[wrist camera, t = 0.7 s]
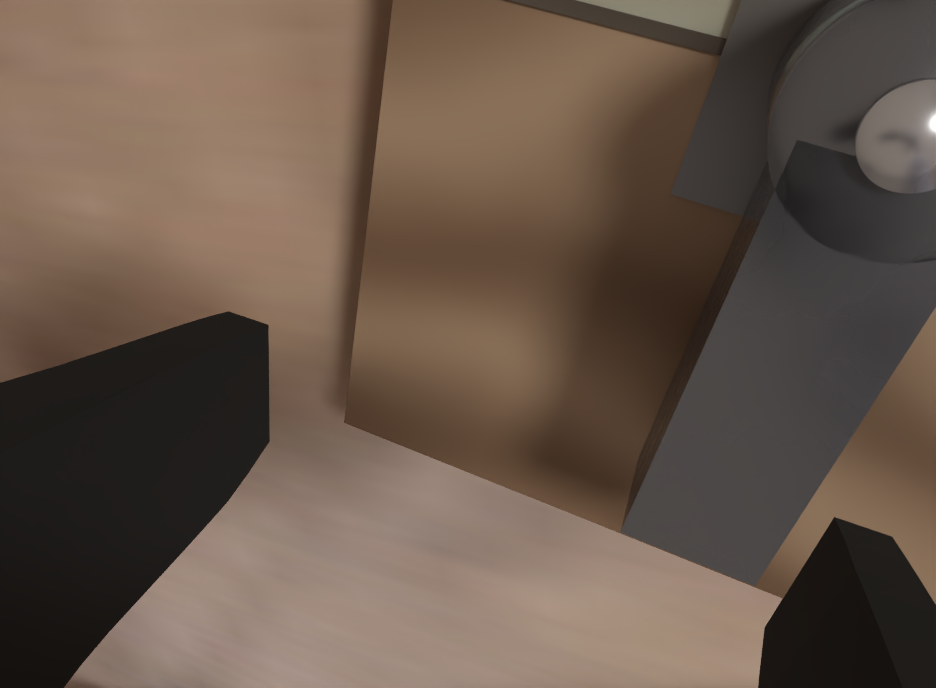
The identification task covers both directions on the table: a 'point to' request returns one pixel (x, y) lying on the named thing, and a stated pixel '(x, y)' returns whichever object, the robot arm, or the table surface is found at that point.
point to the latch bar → (803, 292)
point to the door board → (587, 252)
